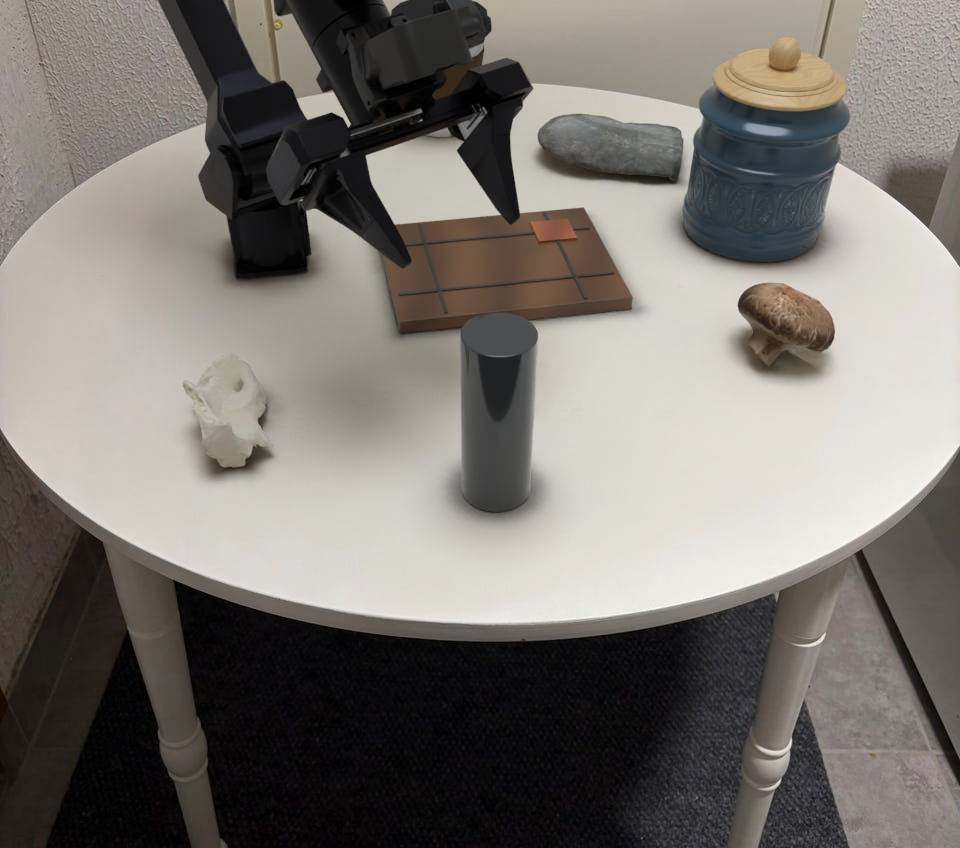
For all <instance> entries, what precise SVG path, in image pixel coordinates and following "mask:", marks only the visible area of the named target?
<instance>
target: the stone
mask: <svg viewBox="0 0 960 848" xmlns="http://www.w3.org/2000/svg"><path fill="white" fill-rule="evenodd" d="M537 141H538V144H539V145H540V147H541V148H542V149H543V150H544V151H546V152H548V153H549V154H551V155H552V156H554V157H555V158H557V159H559V160H561V161H564V162H565V163H567V164H570V165H573V166H575V167H580V168H583V169H587V170H591V171H596V172H599V173H609V174H619V175H629V176H630V175H641V176H651V177H667V178H669V180H670V181H675V180H676V179H677V178H678V177H679V175H680V171H681V167H682V160H683V159H682V158H683V153H684V143H685V142H684V138H683V135H682V131H681V129H679V128H678V127H676V126H672V125H664V124H659V123H645V122H644V123H642V122H641V123H640V122H639V123H638V122H623V121H620V120H617V119H615V118H612V117H609V116H606V115H594V114H590V113H589V114H588V113H569V114H562V115H558V116H557V115H556V116H554V117H553V118H551V119H549V120H548V121H547V122H545V123H544V124H543V125H542V126H541V127H540V128H539V129H538V132H537Z"/></svg>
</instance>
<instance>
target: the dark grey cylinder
mask: <svg viewBox="0 0 960 848" xmlns="http://www.w3.org/2000/svg"><path fill="white" fill-rule="evenodd" d="M459 333H460V334H459V338H460V339H459V341H460V343H459V346H460V349H459V353H460V355H459V356H460V357H459V358H460V438H461V440H460V444H461V445H460V446H461V447H460V449H461V450H460V451H461V452H460V454H461V460H460V461H461V493H462V495H463V497H464V499H465V500H466V502H468V503H469V504H470V505H471V506H473V507H474V508H476V509H478V510H481V511H484V512H490V513H505V512H509V511H512V510H514V509H516V508H518V507H520V506H522V505H523V504H524V503H525V502H526V501H527V500H528V498H529V496H530V493H531V484H532V483H531V482H532V464H533V463H532V462H533V459H532V458H533V445H534V427H535V426H534V425H535V408H536V407H535V405H536V386H537V370H538V369H537V368H538V350H539V332H538V330H537V327H536V326H535V325H534V323H532V322H531V320H527V319H525V318H523V317H520V316H518V315H514V314H509V313H488V314H483V315H480V316H477V317H474V318H473V319H471V320H469V321H468V322H467V323H466V324H465V325H464V326H463V327H461V330H460V332H459Z"/></svg>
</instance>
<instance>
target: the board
mask: <svg viewBox="0 0 960 848" xmlns="http://www.w3.org/2000/svg"><path fill="white" fill-rule="evenodd" d="M395 226H396V228H397V230H398V231H399V233H400V235H401V237H402V239H403V241H404V243H405V245H406V247H407V250H408V252H409V254H410V257H411V260H412V262H411V264H410V265H409V266H408V267H407V268H405V269H401V268H400V267H399V266H397V265H396V264H395V263H393V262H392V261H391V260H390V259H388V258H387V257H386V256H384V255H383V254H382V253H380V256H381V260H382V264H383V269H384V272H385V276H386V277H385V278H386V281H387V285H388V289H389V292H390V297H391V301H392V305H393V309H394V313H395V318H396V321H397V326H398V330H399V334H409V333H419V332H429V331H436V330H437V331H438V330H447V329H457V328H463V326H464V325H465V324H466V323H467V322H468V321H469V320H471V319H473V318H474V317H477V316H480V315H483V314H488V313H509V314H514V315H518V316H520V317H523V318H525V319H527V320H528V321H532V320H540V319H541V320H542V319H550V318H560V317H568V316H569V317H570V316H578V315H587V314H597V313H598V314H599V313H606V312H607V313H608V312H616V311H625V310H632V305H633V299H634V297H633V295H632V293H631V291H630V289H629V288H628V285H627V284H626V282H625V280H624V278H623V277H622V274H621V273H620V270H619V269H618V267H617V266H616V264H615V262H614V260H613V258H612V257H611V255H610V253H609V251H608V249H607V247H606V246H605V243H604V242H603V240H602V238H601V236H600V235H599V233H598V231H597V229H596V227H595V226H594V224H593V222H592V220H591V218H590V216H589V214H588V212H587V211H586V209H585V207H572V208H571V207H570V208H563V209H551V210H540V211H529V212H520V219H519V220H518V221H517V222H516V223H514V224H512V225H510V224H508V222H507V221H506V220H505V219H504V218H503V217H502V215H501V214H496V215H485V216H473V217H464V218H463V217H462V218H452V219H441V220H440V219H439V220H430V221H419V222H408V223H397V224H395Z"/></svg>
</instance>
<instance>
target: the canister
mask: <svg viewBox="0 0 960 848" xmlns="http://www.w3.org/2000/svg"><path fill="white" fill-rule="evenodd" d="M713 71H714V72H713V75H712V82H713V85H711V86H710V87H708V88H707V89H706V90H705V91H704V92H703V93H702V94H701V96H700V97H699V100H698V109H699V111H700V113H701V115H702V120H701V124H700V126H699V127H698V128H697V129H696V131H695V132H694V135H693V138H692V144H693V153H692V158H691V159H692V160H691V165H690V171H689V179H688V185H687V191H686V193H685V195H684V198H683V205H682V216H683V227H684V230H685V233H687V235H688V236H689V238H690V239H692V240H693V241H694V242H695V243H696V244H697V245H699V246H700V247H702V248H703V249H706V250H707V251H710V252H712V253H714V254H716V255H718V256H722V257H725V258H730V259H732V260H733V259H734V260H738V261H745V262H753V263H754V262H757V263H767V262H768V263H770V262H779V261H784V260H789V259H793V258H795V257H798V256H800V255H803V254H804V253H806V252H807V251H809V250H810V249H811V248H812V247H813V246H814V245H815V242H816V240H817V238H818V237H817V236H819V235H820V232H821V231H822V228H823V224H824V221H825V218H826V217H825V216H826V211H825V210H826V205H827V202H828V197H829V194H830V190H831V186H832V182H833V177H834V174H835V171H836V166H837V164H838V163H839V161H840V159H841V155H842V150H841V146H840V143H839V140H840V139H839V137H840V134H841V133H842V132H843V131H844V130H845V129H847V126H848V125H849V123H850V120H851V111H850V109H849V106H848V105H847V104H846V103H845V101H843V100H842V99H843V98H844V97H845V96H846V94H847V90H848V84H847V81H846V80H845V79H844V77H843V76H842V75H841V74H839V72H837V71H836V70H835V69H834V68H833V67H832V66H831V65H830V64H829V62H827V61H826V60H824V59H822V58H821V57H819V56H816V55H814V54H811V53H808V52H805V51H802V48H801V45H800V43H799V41H798V40H796V39H795V38H793V37H791V36H783V37H779V38H778V39H776V40H775V41H774V42H773V43H772V44H771V47H768V48H767V47H764V48H756V49H749V50H747V51H744V52H741V53H739V54H737V55H736V56H735V57H734V58H731V59H728V60H727V61H725V62H723V63H721V64H719V65H718V66H717V67H716V68H715V70H713Z"/></svg>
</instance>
